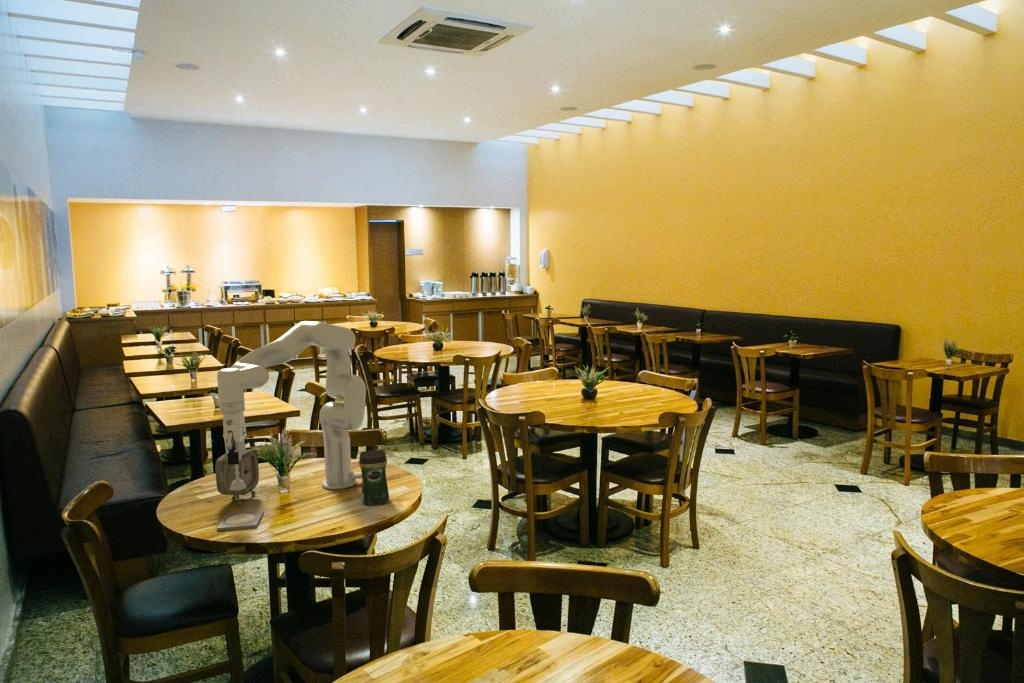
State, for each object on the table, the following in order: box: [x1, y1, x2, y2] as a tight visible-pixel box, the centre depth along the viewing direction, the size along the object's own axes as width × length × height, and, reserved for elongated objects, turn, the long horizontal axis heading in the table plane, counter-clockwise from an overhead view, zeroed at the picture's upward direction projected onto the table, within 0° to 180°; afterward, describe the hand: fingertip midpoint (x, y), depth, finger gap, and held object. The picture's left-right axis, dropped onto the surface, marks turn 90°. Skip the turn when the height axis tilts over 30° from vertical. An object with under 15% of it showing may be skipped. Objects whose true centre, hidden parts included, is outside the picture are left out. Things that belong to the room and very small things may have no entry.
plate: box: [216, 510, 264, 532], centre depth 223 cm, size 12×12×1 cm
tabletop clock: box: [214, 449, 260, 507], centre depth 241 cm, size 14×9×25 cm, turn 175°
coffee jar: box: [358, 448, 390, 506], centre depth 238 cm, size 10×8×19 cm
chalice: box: [222, 431, 247, 490], centre depth 221 cm, size 7×7×18 cm
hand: (236, 460), depth 221 cm, fingers closed on chalice, 6 cm apart
